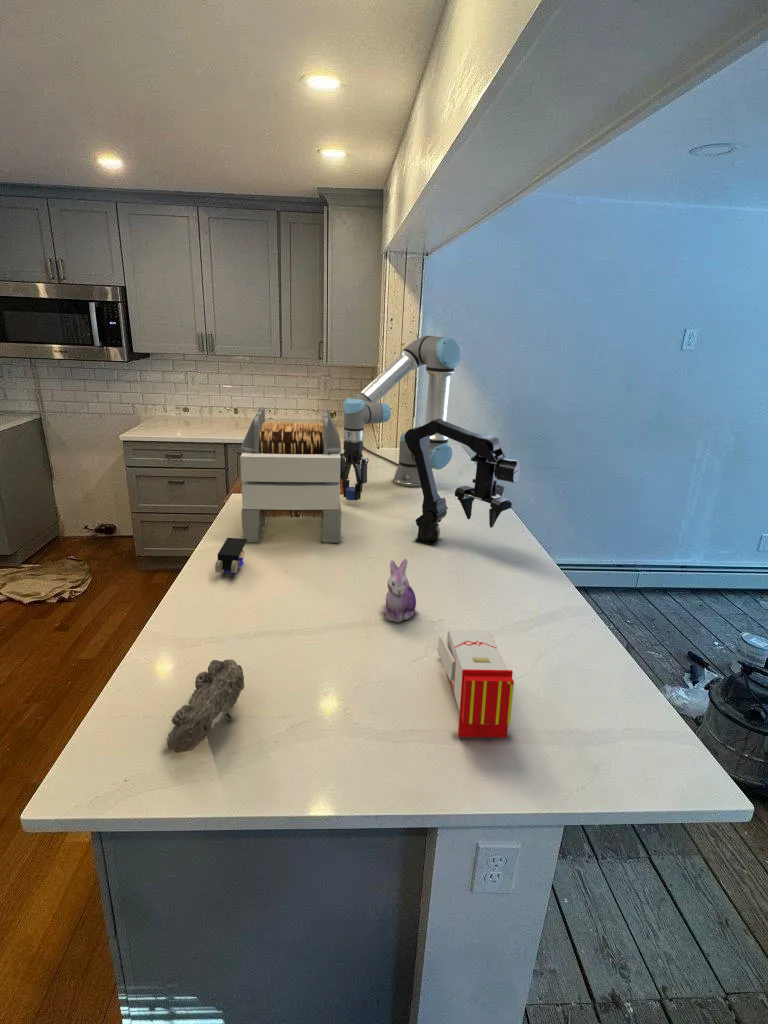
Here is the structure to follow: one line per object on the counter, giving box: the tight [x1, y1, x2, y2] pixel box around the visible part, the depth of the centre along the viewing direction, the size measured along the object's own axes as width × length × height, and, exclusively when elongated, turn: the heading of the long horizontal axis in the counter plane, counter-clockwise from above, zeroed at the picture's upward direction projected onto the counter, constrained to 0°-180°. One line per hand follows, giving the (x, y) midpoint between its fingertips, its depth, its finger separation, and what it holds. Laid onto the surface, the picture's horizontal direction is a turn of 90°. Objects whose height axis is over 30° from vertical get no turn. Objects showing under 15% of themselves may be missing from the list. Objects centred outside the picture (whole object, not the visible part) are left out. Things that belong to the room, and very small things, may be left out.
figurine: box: [384, 558, 417, 623], centre depth 145 cm, size 9×10×15 cm
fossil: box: [166, 658, 245, 754], centre depth 106 cm, size 22×10×15 cm
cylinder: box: [345, 486, 356, 501], centre depth 224 cm, size 5×5×4 cm
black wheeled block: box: [214, 537, 248, 578], centre depth 166 cm, size 7×8×15 cm
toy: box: [437, 628, 515, 738], centre depth 117 cm, size 12×13×30 cm
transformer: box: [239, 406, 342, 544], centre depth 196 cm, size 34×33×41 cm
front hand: (479, 523), depth 182 cm, fingers open, 9 cm apart
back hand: (351, 497), depth 225 cm, fingers closed on cylinder, 5 cm apart
